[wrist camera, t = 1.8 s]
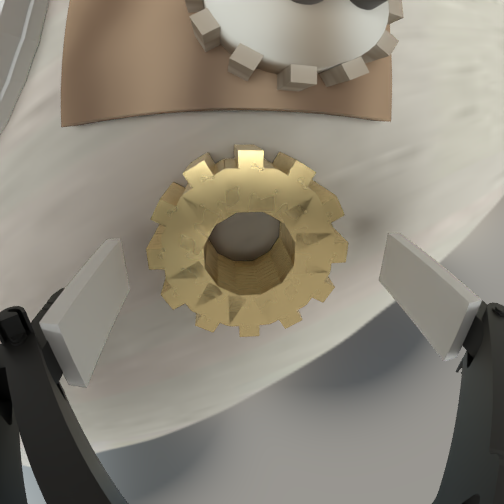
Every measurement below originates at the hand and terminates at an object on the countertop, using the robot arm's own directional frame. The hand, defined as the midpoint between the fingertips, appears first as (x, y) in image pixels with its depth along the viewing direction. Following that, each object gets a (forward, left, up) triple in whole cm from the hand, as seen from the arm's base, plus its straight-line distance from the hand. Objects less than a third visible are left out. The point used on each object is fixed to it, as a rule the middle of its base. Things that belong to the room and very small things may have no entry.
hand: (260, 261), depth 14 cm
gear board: (-1, +20, -5) cm, 21 cm away
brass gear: (0, 0, -5) cm, 5 cm away
